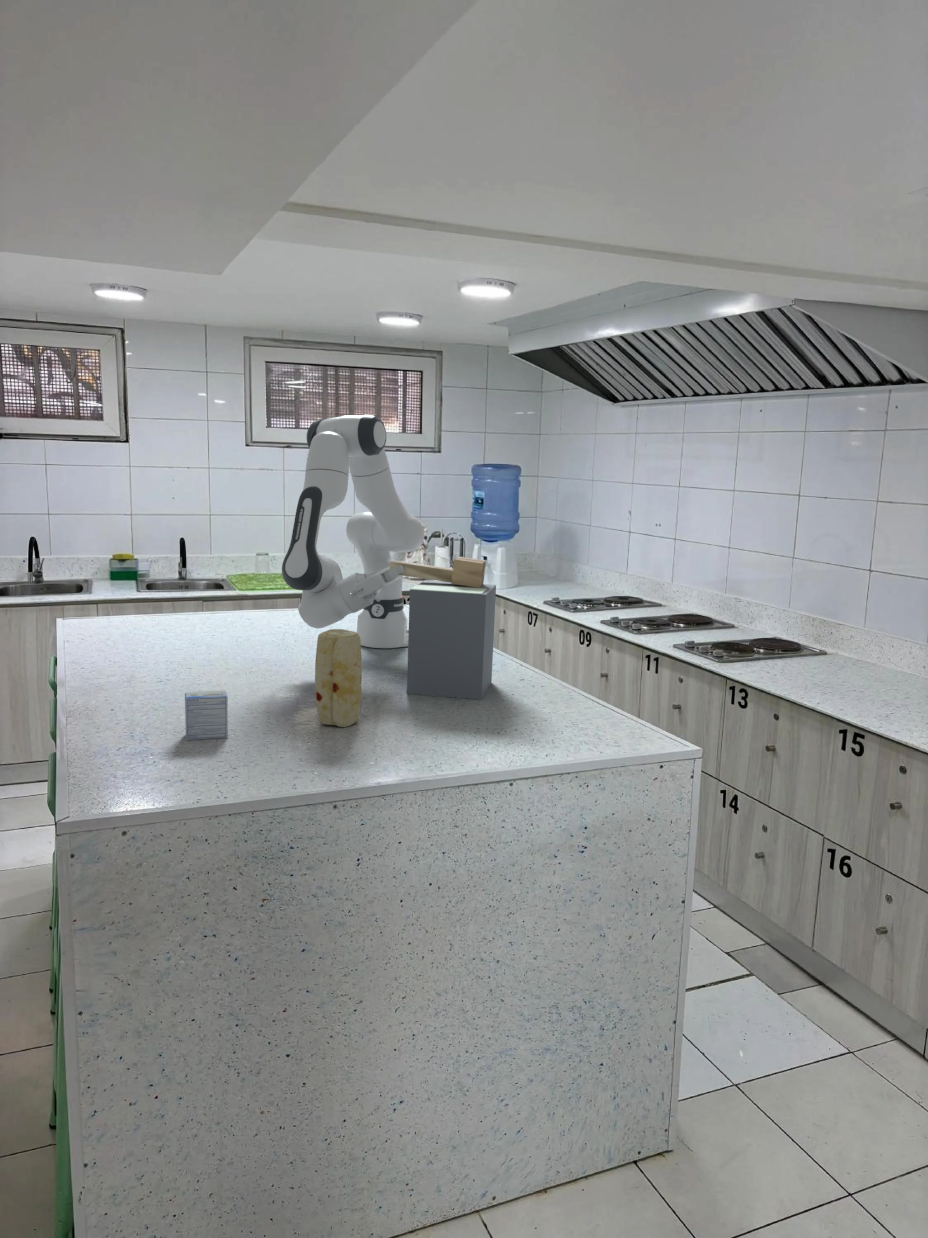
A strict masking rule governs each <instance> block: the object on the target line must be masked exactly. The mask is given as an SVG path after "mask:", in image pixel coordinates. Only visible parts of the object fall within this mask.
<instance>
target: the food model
mask: <svg viewBox="0 0 928 1238" xmlns="http://www.w3.org/2000/svg"><path fill="white" fill-rule="evenodd" d="M316 642H317V643H316V651H315V652H316V653H315V667H314V668H315V669H314V687H315V690H314V691H315V692H314V693H315V702H316V712H317V715H318V720H319V722H320V723H321V724H322V725H328V726H337V728H338V727H339V728H346V727H349V726H352V725H353V724H355V723H357V722H358V721H359V720H360V718H361V701H362V679H363V678H362V675H363V674H362V673H363V661H362V659H363V657H362V656H363V655H362V645H361V640H360V635H359V634H358V633H357V631H354V630H349V629H348V630H347V629H341V628H334V629H332V628H331V629H328V630H325V631H323V632H320V633H319V634H318V635H317V640H316Z"/></svg>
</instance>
